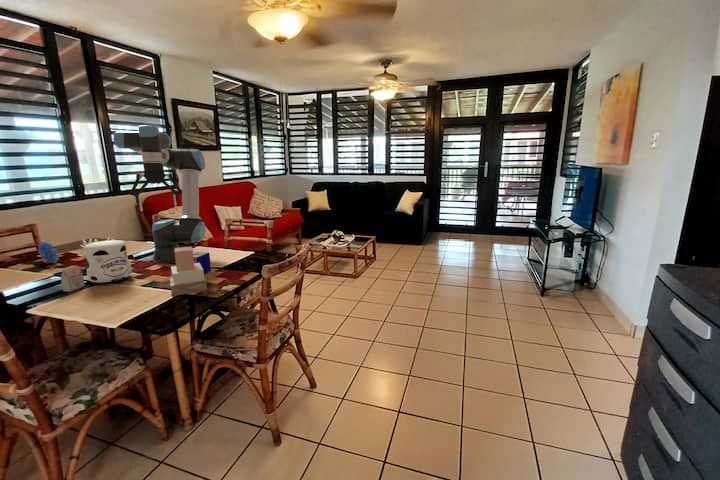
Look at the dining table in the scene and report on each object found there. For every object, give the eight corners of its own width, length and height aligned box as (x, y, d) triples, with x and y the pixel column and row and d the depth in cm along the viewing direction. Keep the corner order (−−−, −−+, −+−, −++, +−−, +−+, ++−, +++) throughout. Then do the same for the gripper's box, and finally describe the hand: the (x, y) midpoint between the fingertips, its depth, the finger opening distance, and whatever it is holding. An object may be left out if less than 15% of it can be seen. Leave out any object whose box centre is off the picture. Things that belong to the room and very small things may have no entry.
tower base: (171, 286, 156) (169, 276, 155) (203, 281, 163) (202, 271, 162) (171, 297, 144) (170, 286, 143) (207, 291, 151) (206, 281, 150)
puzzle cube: (199, 276, 168) (197, 257, 166) (181, 275, 170) (179, 256, 167) (211, 270, 177) (209, 252, 175) (194, 269, 179) (192, 251, 177)
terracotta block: (177, 267, 153) (174, 248, 150) (194, 265, 156) (192, 246, 154) (176, 271, 146) (174, 251, 144) (194, 269, 150) (192, 250, 147)
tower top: (172, 276, 154) (170, 266, 153) (200, 272, 161) (199, 262, 159) (174, 285, 144) (172, 274, 143) (204, 280, 151) (203, 269, 150)
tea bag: (63, 291, 148) (58, 269, 145) (77, 285, 154) (73, 265, 152) (70, 291, 147) (66, 270, 145) (84, 286, 154) (80, 265, 151)
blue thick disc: (33, 264, 183) (28, 243, 180) (46, 261, 189) (42, 240, 186) (50, 266, 181) (45, 244, 178) (63, 262, 187) (59, 241, 184)
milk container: (119, 286, 154) (113, 248, 150) (79, 286, 153) (72, 248, 149) (140, 273, 171) (135, 239, 167) (104, 274, 170) (98, 239, 165)
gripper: (117, 162, 139) (125, 212, 144) (184, 162, 151) (190, 209, 156) (119, 162, 145) (127, 210, 151) (184, 162, 157) (189, 207, 162)
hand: (159, 209), depth 153 cm, fingers open, 13 cm apart
